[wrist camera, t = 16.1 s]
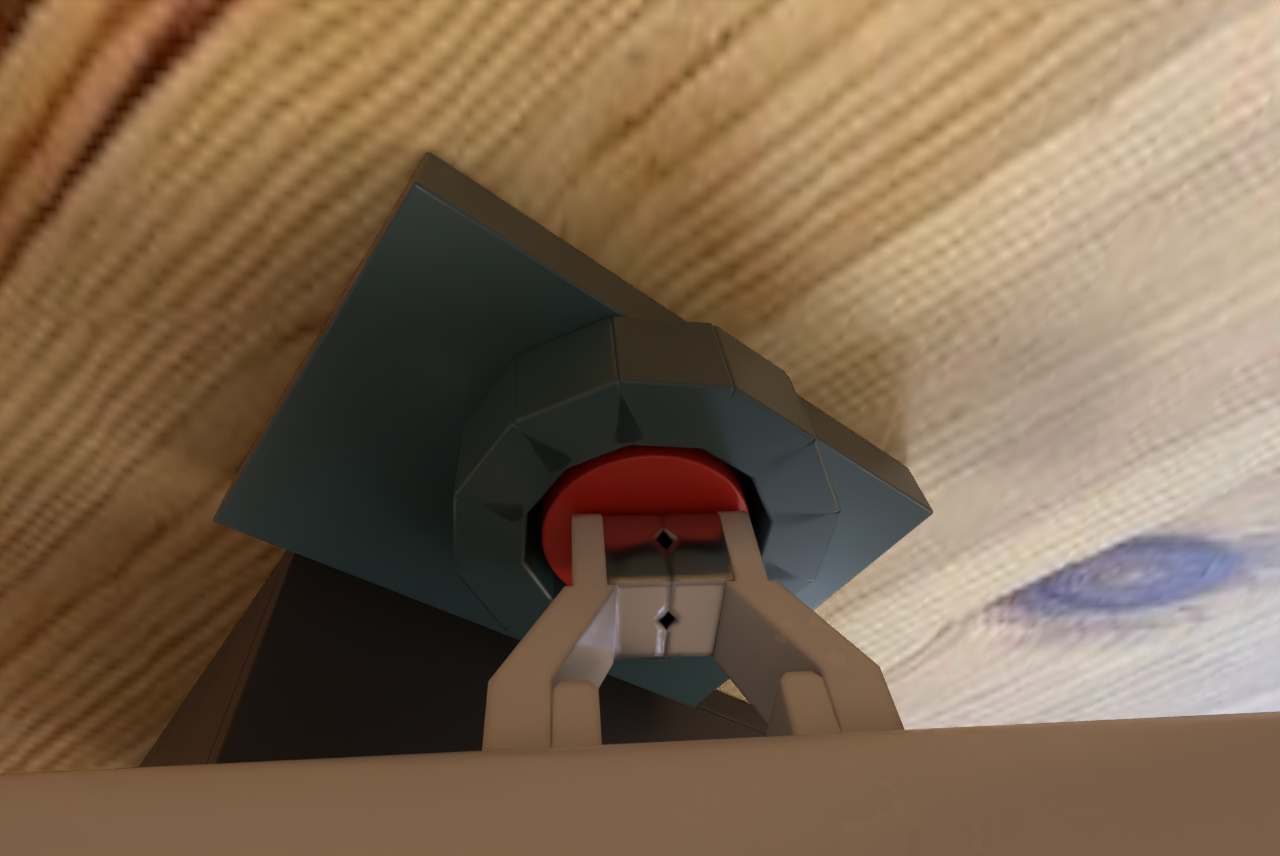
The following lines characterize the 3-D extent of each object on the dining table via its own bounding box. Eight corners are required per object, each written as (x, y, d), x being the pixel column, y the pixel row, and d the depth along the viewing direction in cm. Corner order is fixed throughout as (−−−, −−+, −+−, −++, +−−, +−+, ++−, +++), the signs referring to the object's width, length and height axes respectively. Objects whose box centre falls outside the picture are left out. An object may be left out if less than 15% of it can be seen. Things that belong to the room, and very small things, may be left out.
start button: (505, 494, 15) (501, 561, 13) (618, 360, 13) (626, 420, 12) (653, 564, 16) (663, 631, 15) (770, 452, 15) (793, 515, 13)
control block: (237, 471, 16) (168, 603, 13) (451, 110, 12) (420, 186, 9) (685, 659, 21) (705, 784, 18) (934, 446, 17) (1008, 561, 14)
